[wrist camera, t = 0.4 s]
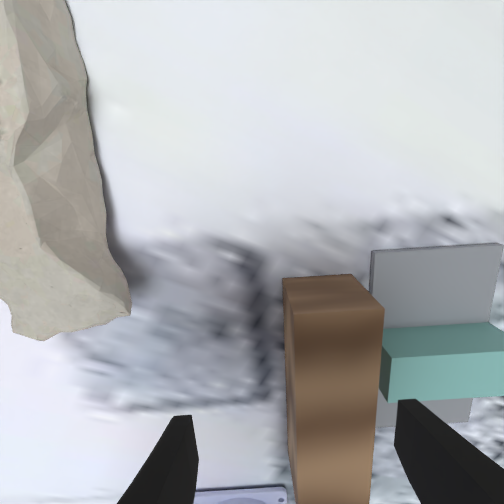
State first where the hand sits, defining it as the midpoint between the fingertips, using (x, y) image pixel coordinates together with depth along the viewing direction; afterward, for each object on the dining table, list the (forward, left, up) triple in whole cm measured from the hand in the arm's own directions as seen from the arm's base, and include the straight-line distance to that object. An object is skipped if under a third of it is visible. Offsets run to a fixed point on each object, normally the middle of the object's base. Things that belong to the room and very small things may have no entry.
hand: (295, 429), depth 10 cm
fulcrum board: (-4, -11, -10) cm, 15 cm away
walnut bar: (-6, -3, -10) cm, 12 cm away
